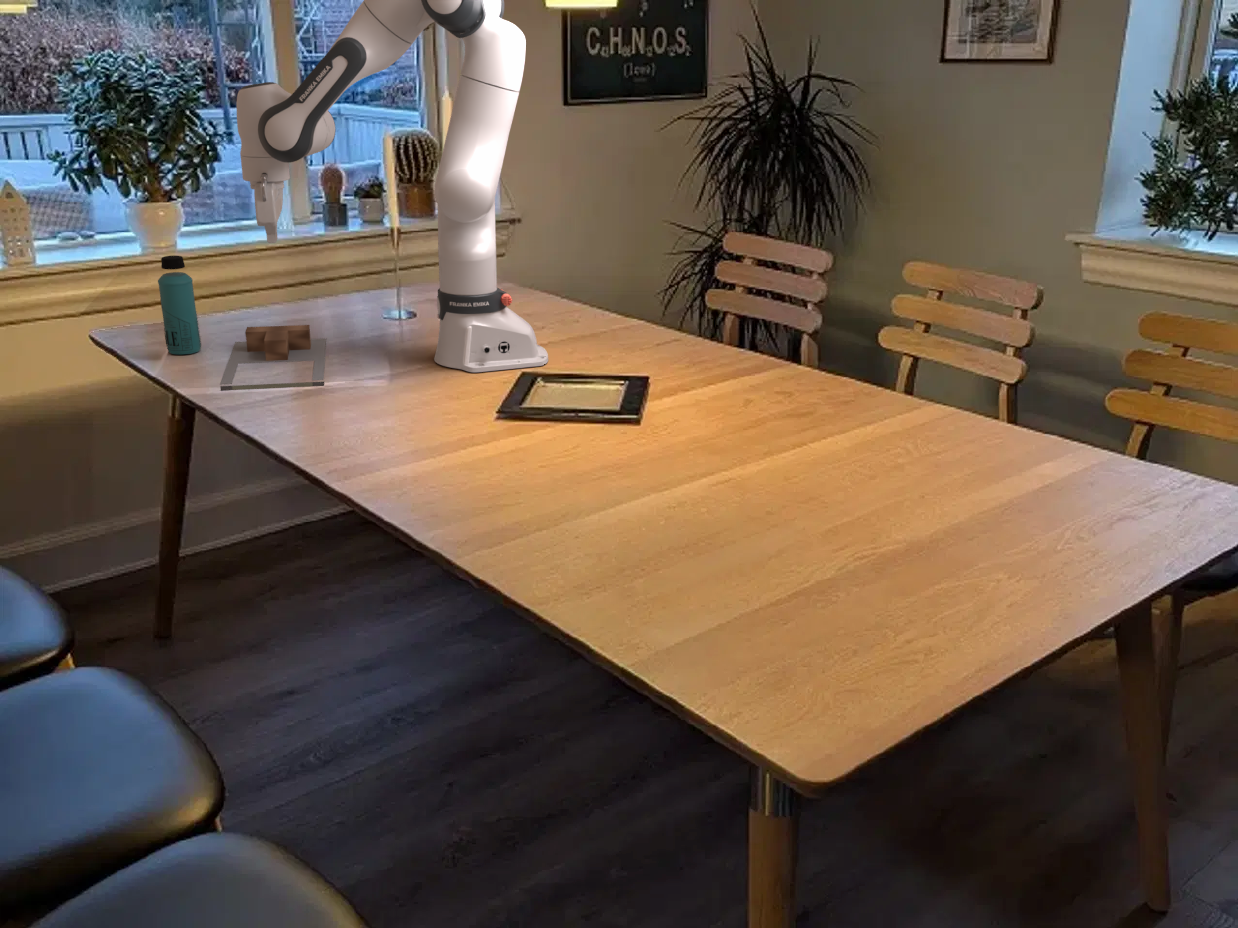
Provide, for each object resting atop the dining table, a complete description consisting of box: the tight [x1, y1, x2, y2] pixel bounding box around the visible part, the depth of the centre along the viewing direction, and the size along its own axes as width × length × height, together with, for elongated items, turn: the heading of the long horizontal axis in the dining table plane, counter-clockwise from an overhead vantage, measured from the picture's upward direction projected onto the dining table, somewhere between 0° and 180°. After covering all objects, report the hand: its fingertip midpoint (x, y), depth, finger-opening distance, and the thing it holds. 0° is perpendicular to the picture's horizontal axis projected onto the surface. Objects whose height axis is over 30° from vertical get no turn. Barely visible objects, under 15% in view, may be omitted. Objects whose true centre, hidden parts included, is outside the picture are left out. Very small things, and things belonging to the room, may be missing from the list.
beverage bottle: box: [157, 255, 202, 355], centre depth 215 cm, size 6×7×20 cm
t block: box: [245, 324, 312, 361], centre depth 218 cm, size 12×11×4 cm
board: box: [219, 338, 327, 392], centre depth 215 cm, size 18×29×1 cm, turn 13°
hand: (272, 241), depth 221 cm, fingers closed
